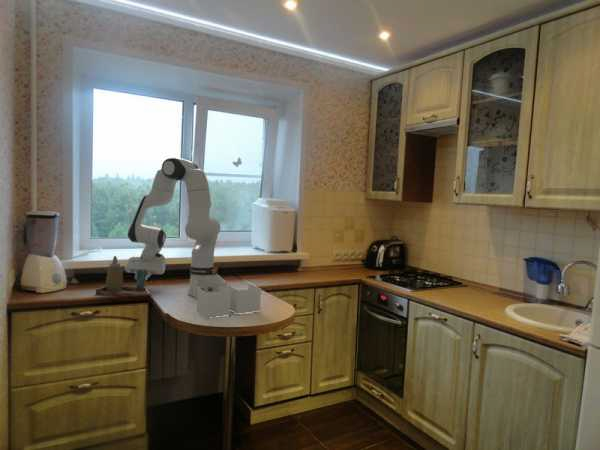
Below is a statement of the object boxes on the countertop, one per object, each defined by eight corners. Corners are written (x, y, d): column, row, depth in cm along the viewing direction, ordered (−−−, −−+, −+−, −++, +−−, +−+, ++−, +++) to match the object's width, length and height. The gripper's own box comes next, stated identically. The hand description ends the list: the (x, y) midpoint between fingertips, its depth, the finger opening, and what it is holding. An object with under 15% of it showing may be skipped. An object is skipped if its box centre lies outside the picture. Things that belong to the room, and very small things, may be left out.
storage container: (204, 319, 162) (205, 293, 162) (196, 312, 172) (197, 287, 171) (259, 313, 176) (261, 288, 175) (249, 306, 185) (250, 283, 184)
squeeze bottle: (126, 291, 201) (127, 256, 200) (113, 294, 194) (114, 258, 193) (115, 289, 204) (116, 254, 203) (101, 292, 197) (102, 256, 196)
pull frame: (146, 289, 207) (147, 269, 206) (133, 296, 192) (133, 275, 191) (112, 287, 208) (112, 267, 207) (95, 294, 192) (96, 272, 192)
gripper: (128, 253, 212) (118, 274, 203) (166, 255, 211) (158, 276, 202) (131, 260, 216) (122, 281, 207) (168, 262, 216) (161, 283, 206)
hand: (140, 279), depth 204 cm, fingers open, 3 cm apart
